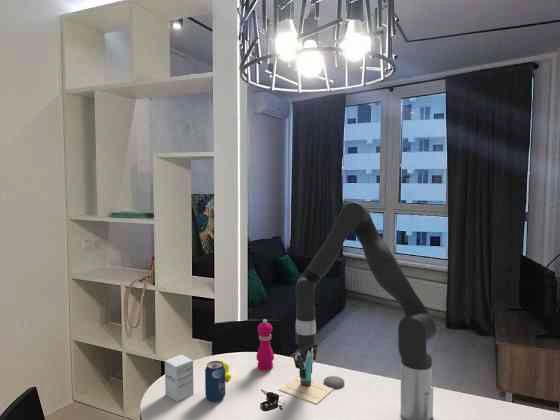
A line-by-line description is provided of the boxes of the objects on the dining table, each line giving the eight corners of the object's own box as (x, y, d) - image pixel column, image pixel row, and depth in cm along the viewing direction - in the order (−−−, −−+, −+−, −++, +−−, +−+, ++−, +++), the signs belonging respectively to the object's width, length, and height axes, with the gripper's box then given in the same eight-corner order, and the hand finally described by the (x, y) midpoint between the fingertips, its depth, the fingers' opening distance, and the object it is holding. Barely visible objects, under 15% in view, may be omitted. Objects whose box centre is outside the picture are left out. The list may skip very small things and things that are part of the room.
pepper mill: (273, 371, 153) (273, 322, 152) (255, 371, 153) (255, 322, 152) (274, 363, 160) (274, 316, 159) (257, 363, 161) (256, 316, 159)
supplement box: (164, 394, 136) (163, 360, 136) (182, 386, 142) (182, 353, 141) (176, 402, 131) (175, 366, 131) (194, 394, 137) (193, 359, 136)
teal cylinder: (313, 383, 143) (313, 351, 142) (307, 387, 140) (307, 355, 139) (304, 380, 146) (304, 349, 145) (298, 384, 142) (298, 352, 142)
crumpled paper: (214, 373, 152) (213, 354, 152) (233, 376, 150) (232, 356, 150) (207, 380, 146) (207, 361, 146) (227, 383, 144) (227, 363, 144)
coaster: (347, 382, 145) (347, 379, 144) (338, 390, 138) (338, 388, 138) (330, 376, 149) (330, 374, 149) (320, 384, 143) (320, 382, 143)
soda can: (224, 402, 131) (224, 368, 130) (204, 403, 131) (203, 369, 130) (226, 392, 138) (225, 359, 137) (206, 392, 138) (206, 360, 137)
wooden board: (333, 389, 139) (333, 388, 139) (316, 404, 130) (316, 403, 130) (297, 376, 149) (297, 375, 149) (278, 390, 139) (278, 389, 139)
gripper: (304, 338, 134) (304, 386, 135) (324, 326, 145) (324, 371, 146) (286, 334, 138) (286, 380, 139) (307, 322, 149) (307, 365, 150)
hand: (306, 375), depth 143 cm, fingers closed on teal cylinder, 4 cm apart
